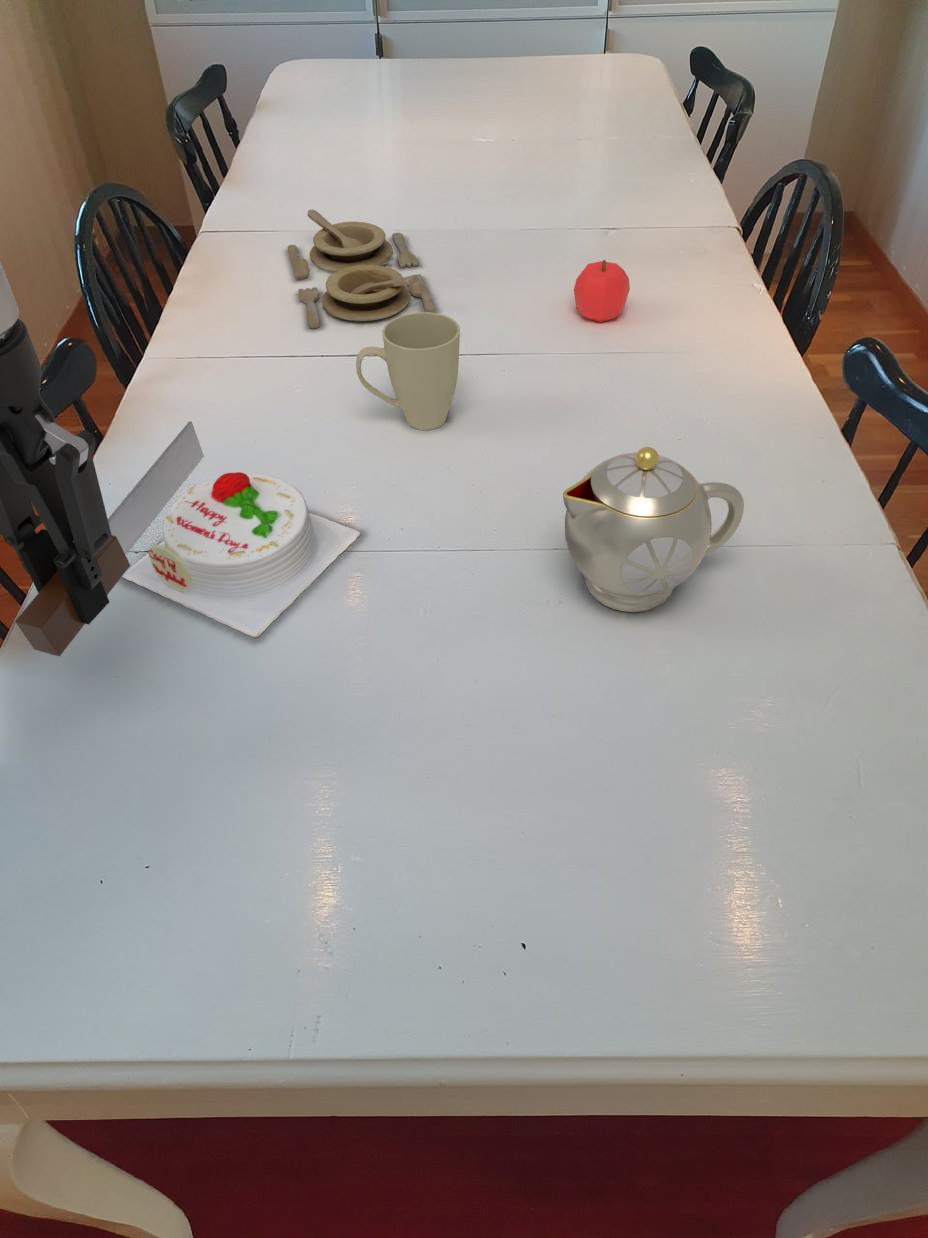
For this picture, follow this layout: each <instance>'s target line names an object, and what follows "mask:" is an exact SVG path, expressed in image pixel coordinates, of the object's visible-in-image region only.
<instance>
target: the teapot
mask: <svg viewBox="0 0 928 1238" xmlns="http://www.w3.org/2000/svg"><path fill="white" fill-rule="evenodd" d="M562 498H563V504H564V506H565V508H566V510H565V516H564V536H565V542H566V546H567V548H568V549H567V550H568V552H569V554H570V557H571V560H572V561H573V563H574V564H575V566H576V568H577V569H578V570H579V571H580V573H582V575H583V576H584V582H585V586H586V588H587V590H588V592H589V593H590V594H591V596H592V597H593V598H594V599H595V600H596V601H598V602H599V603H600V604H602V605H604V606H605V607H608V608H609V609H612V610H616V611H621V612H626V613H640V612H646V611H650V610H653V609H655V608H657V607H659V606H660V605H662V604H663V603H664V602H666V601H667V600H668V599H669V597H670V596H671V595H672V592H673V590H674V588H676V587H677V586H679V585H680V584H682V583H683V582H684V581H686V580H687V579H688V578H689V577H690V576H691V575H692V574H693V573H694V572H695V570H697V568H698V566H699V565H700V564H701V562H702V560H703V559H704V557H705V556H707V555H710V554H712V553H713V552H715V551H717V550H718V549H720V548H721V547H723V546H724V545H725V544H726V543H727V542H728V541H729V540H730V539H731V538H732V537H733V536H734V534H735V533H736V532H737V530H738V528H739V526H740V524H741V523H742V519H743V515H744V512H745V511H744V510H745V504H744V503H745V502H744V497H743V495H742V494H741V492H740V491H739V490H738V489H737V487H735V486H733V485H730V484H727V483H724V482H720V481H719V482H718V481H708V482H702V483H700V482H699V481H698V480H697V478H696V477H695V476H694V475H693V474H692V473H691V472H690V471H689V470H688V469H687V468H685V467H684V466H683V465H681V464H680V463H678V462H677V461H675V460H673V459H671V458H669V457H666V456H664V455H660V454H659V453H658V451H657V450H656V449H655V448H653V447H651V446H644V447H641V448H640V449H639V450H637V452H627V453H622V454H618V455H615V456H613V457H610V458H608V459H606V460H604V461H601V462H600V463H599V464H597V465H596V466H594V467H593V468H592V469H591V470H589V471H588V472H587V473H586V474H585V475H584V476H583V478H582V479H580V480H579V481H578V482H576V483H575V484H573V485H572V486H571V485H570V487H568V488H566V489H565V490H564V491H563V492H562ZM711 498H719V499H721V500H723V501H725V503H726V504H727V508H728V510H727V514H726V517H725V518H724V521H723V522H722V524H721V525H720V527H719V528H717V530H715V531H714V533H712V512H711V507H710V503H709V499H711Z"/></svg>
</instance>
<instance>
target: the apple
mask: <svg viewBox="0 0 928 1238" xmlns="http://www.w3.org/2000/svg"><path fill="white" fill-rule="evenodd" d="M630 290H631V286H630V278H629V276H628V275H627V273H626V271H625V269H623V268H622V267H621V266H620V265H619V264H618V263H617V262H616V263H615V262H610V261H606V259H603V260H601V261H595V262H590V263H587V264H586V266H585V267H584V268H583V270H582V271H581V272H580V273H579V275H578V276H577V278H576V280H575V283H574V286H573V295H574V302H575V303H574V304H575V309H576V310H577V311H578V312H579V313H580V314H581V315H582V316H583V317H584V318H586V319H588V320H590V321H594V322H598V323H604V322H607V321H610V320H613V319H615V318H618V317H619V316H620V315H621V313H622V312H623V310H624V309H625V305H626V302H627V299H628V297H629V293H630Z"/></svg>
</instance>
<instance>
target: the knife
mask: <svg viewBox="0 0 928 1238" xmlns="http://www.w3.org/2000/svg"><path fill="white" fill-rule="evenodd" d="M204 457H205V455H204V452H203V448H202V446H201V443H200V439H199V438H198V435H197V432H196V430H195V427H194V424H193V421H188V422H187V423H186V425H185V426H184V427H183V428H182V429H181V431H179V433H178V434H177V435H176V436H175V438H174V439H173V440H172V441H171V443H170V444H169V445H168V446H167V447H166V448H165V449H164V451H163V452H162V454H160V456H159V457H158V458H157V459H156V460H155V461H154V463H153V464H152V466H151V467H150V468H149V469H148V470H147V471H146V472H145V473H144V475H143V476H142V477H141V478H140V480H139V481H138V482H137V483H136V484H135V486H134V487H133V488H132V489H131V490H130V492H129V493H128V494H127V495H126V496H125V498H124V499H123V500H122V501H121V503H120V504H119V505H118V506H117V507H116V508H115V510H113V512H112V513H111V514H110V515H109V517H107V518H108V522H109V526H110V530H111V534H112V538H111V539H110V540H109V541H108V542H107V543H106V544H105V545H104V546H103V547H102V548H101V549H100V550H99V551H98V552H97V553H96V554H95V556H96V558H97V561H98V563H99V564H98V565H99V566H100V569H101V571H102V573H103V577H102V579H101V582H102V584H103V587H104V589H105V592H106V594H107V596H108V595H109V594H110V592H111V591H112V590H113V589H114V587H115V586H116V585H117V583H118V582H119V581H120V580H121V578H123V577H122V576H123V574H124V573H125V572H126V571H127V570H128V569H129V568H130V567H131V563H130V561H129V559H128V557H127V555H128V553H129V552H130V551H131V550H132V548H133V547H134V546H135V545H136V543H137V542H138V541H139V540H140V538H141V537H142V535H144V533H145V532H146V531H147V529H149V527H150V526H151V524H152V523H153V522H154V521H155V520H156V519H157V517H158V515H159V514H160V513H161V512H162V511H163V509H164V508H165V507H166V505H167V504H168V503H169V501H170V500H171V499H172V498H173V496H174V495H175V494H176V493H177V491H178V490H179V489H180V488H181V486H182V485H183V484H184V483H185V481H186V480H187V479H188V478H189V477H190V475H191V474H192V473H193V471H194V470H195V469H196V467H197V466H198V465H199V463H200V462H201V461H202V460H203V459H204ZM15 623H16V625H17V626H18V628H19V629H20V631H21V632H22V634H23V636H24V637H25V638H26V640H27V641H28V643H29V644H30V646H31V647H32V649H33V650H35V651H38V652H42V653H45V654H48V655H52V656H55V657H61V656H62V654H63V653H64V652H65V651H66V649H67V648H68V647H69V645H70V644H71V642H72V641H73V640H74V639H75V637H76V636H77V635H78V634H79V632H80V631H81V630H82V629H83V627H84V626H85V625H86V624H85V623H81V621H80V619H79V617H78V615H77V612H76V610H75V608H74V605H73V603H72V601H71V599H70V596H69V594H68V592H67V590H66V588H65V585H64V583H63V581H62V578H61V576H60V574H59V572H58V571H57V572H56V573H55V574H54V575H53V577H52V578H51V579H50V580H49V581H48V583H47V584H46V585H45V586H44V587H43V589H42V590H41V591H40V592H39V593H38V592H37V594H36V596H35V597H34V598H33V599H32V600H31V601H30V602H29V604H28V605H27V606H26V607H25V609H24V610H23V611H22V612H21V613H20V615H19V616H18V617H17V618H16V619H15Z"/></svg>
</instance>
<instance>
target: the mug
mask: <svg viewBox="0 0 928 1238" xmlns="http://www.w3.org/2000/svg"><path fill="white" fill-rule="evenodd" d="M381 334H382V340H383V341H382V342H383V347H378V346H366V347H363V348H362V349H360V350H359V352H358V354H357V356H356V361H355V368H356V374H357V377H358V380H359V382H360V383H361V385H362V387H364V388H365V389H366V390H367V391H368V392H370V394H372V395H374V396H375V397H378V398H379V399H380V400H382V401H384V402H385V403H387V404H389V405H390V406H393V407H398V408H400V409H401V411H402V413H403V415H404V419H405V420H406V422H407V424H408V426H410V427H411V428H412V429H415V430H420V431H432V430H435V429H438V428H440V427H442V426H443V425H444V424H445V423H446V420H447V417H448V414H449V411H450V407H451V404H452V401H453V398H454V394H455V391H456V388H457V383H458V377H459V376H458V375H459V366H460V365H459V364H460V363H459V362H460V343H461V342H460V340H461V339H460V338H461V337H460V336H461V327H460V325H459V323H458V322H457V321H456V320H455V319H453V318H452V317H450V316H448V315H445V314H443V313H437V312H434V313H431V312H426V311H418V312H410V313H406V314H401V315H399V316H396V317H394V318H392V319H390V320H389V321H388V322H387V323H386V324H384V326H383V328H382V333H381ZM368 355H372V356H376V357H379V358H380V359H382V360H383V361H384V362H385V364H386V365H387V371H388V376H389V379H390V380H389V381H390V384H391V387H392V391H393V393H394V396H395V398H392V397H390V396H388V395H387V394H385V393H383V392H382V391H380V390H378V388H376V387H375V386H373V385H372V384H370V383H369V382H368V381H367V380H366V379H365V378H364V375H363V373H362V362H363V360H364V358H365V357H366V356H368Z"/></svg>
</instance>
